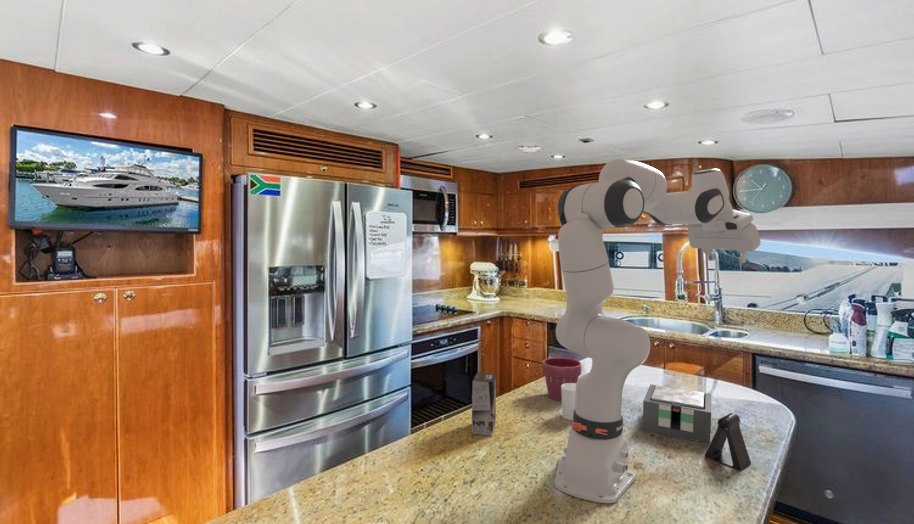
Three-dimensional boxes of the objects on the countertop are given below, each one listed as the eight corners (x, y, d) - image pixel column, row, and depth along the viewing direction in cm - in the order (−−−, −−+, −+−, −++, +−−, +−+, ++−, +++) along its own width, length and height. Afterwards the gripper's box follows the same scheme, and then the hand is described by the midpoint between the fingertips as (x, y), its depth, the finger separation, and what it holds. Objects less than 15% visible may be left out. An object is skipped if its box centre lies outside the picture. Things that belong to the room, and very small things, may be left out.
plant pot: (543, 388, 175) (544, 355, 174) (580, 391, 171) (581, 358, 171) (539, 400, 161) (540, 365, 161) (580, 405, 158) (581, 369, 157)
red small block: (678, 411, 132) (678, 409, 132) (672, 410, 132) (672, 408, 132) (679, 409, 133) (679, 407, 133) (673, 408, 134) (673, 406, 134)
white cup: (586, 422, 142) (587, 391, 142) (560, 420, 144) (561, 389, 143) (584, 413, 150) (585, 383, 150) (560, 411, 152) (560, 382, 151)
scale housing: (710, 444, 128) (711, 413, 128) (642, 430, 137) (643, 401, 137) (710, 421, 144) (711, 393, 144) (649, 410, 153) (650, 384, 153)
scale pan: (703, 414, 128) (703, 410, 128) (650, 404, 135) (650, 400, 135) (704, 396, 143) (704, 392, 143) (656, 388, 150) (656, 384, 150)
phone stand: (751, 464, 117) (753, 419, 117) (740, 471, 114) (743, 424, 113) (714, 450, 124) (716, 408, 124) (704, 457, 121) (705, 413, 120)
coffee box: (492, 436, 132) (493, 382, 131) (471, 434, 134) (471, 380, 133) (496, 423, 141) (497, 373, 140) (475, 421, 143) (476, 371, 142)
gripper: (679, 224, 143) (689, 262, 147) (746, 224, 125) (755, 268, 129) (691, 216, 146) (701, 254, 149) (758, 215, 128) (767, 258, 131)
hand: (727, 260), depth 139 cm, fingers open, 8 cm apart
